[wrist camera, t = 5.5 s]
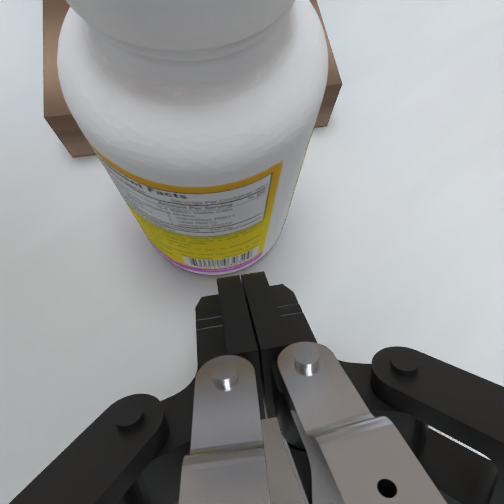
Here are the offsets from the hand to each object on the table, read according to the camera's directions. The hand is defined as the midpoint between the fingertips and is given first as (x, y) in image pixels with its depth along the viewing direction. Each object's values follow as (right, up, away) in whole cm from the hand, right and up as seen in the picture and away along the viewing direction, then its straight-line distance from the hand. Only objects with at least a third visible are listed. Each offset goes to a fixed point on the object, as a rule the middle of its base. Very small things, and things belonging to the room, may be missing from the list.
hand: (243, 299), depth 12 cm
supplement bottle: (-2, +3, +6) cm, 7 cm away
